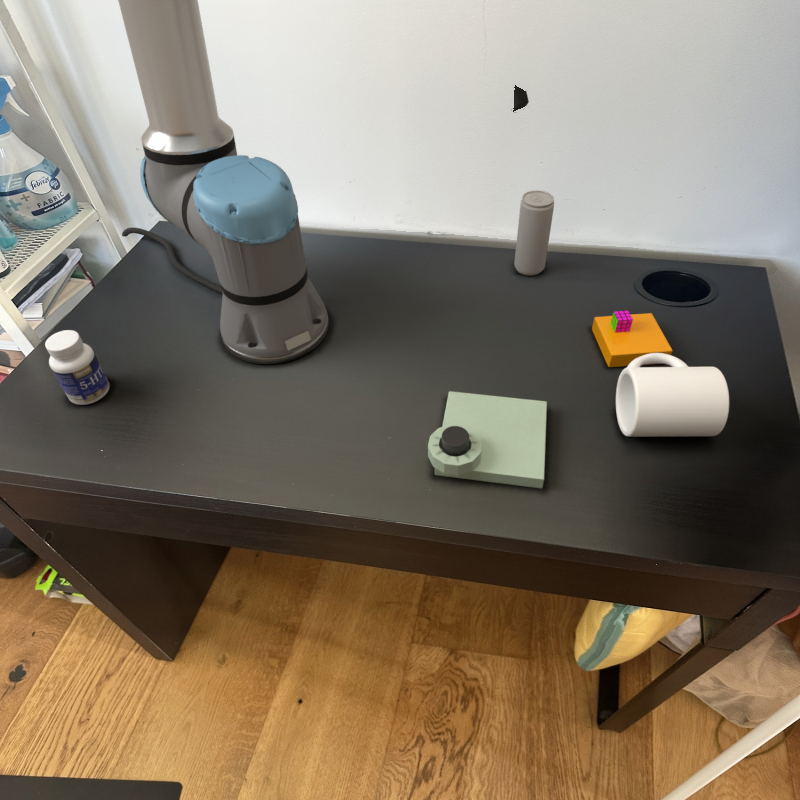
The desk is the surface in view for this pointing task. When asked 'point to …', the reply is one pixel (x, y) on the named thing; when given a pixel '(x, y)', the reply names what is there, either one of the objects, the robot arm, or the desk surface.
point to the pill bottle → (76, 368)
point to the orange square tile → (628, 337)
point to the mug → (671, 399)
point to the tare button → (455, 441)
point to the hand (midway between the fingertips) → (520, 107)
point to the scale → (494, 439)
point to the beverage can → (533, 232)
